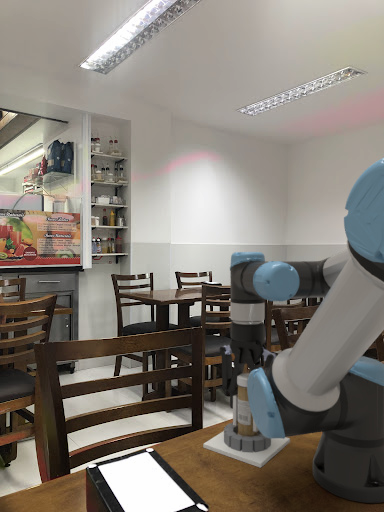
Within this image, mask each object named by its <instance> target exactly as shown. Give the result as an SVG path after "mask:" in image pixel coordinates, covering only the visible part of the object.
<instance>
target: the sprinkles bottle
mask: <svg viewBox="0 0 384 512" xmlns="http://www.w3.org/2000/svg"><path fill="white" fill-rule="evenodd" d="M249 374H250V372H246V373H245V372H243V374H240V375H238V376H237V384H238V433H237V434H238V435H241V436H246V437H253V436H258V433H257V432H255V431H253V416H252V413H251V410H250V405H249V400H248V392H247V382H248V377H249Z"/></svg>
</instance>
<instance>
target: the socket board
mask: <svg viewBox="0 0 384 512" xmlns="http://www.w3.org/2000/svg"><path fill="white" fill-rule="evenodd" d="M237 433H238V425H236V426H234V425H233V421H232V423H231V422H230V423H228V424H226V425H225V426H224V428H223V431H221V432H219V433H218V434H217V435H215V436H213V437H212V438H210V439H208V440H207V441H206V442H204V443H203V447H202V448H204V449H206V450H209V451H212V452H215V453H218V454H220V455H223V456H226V457H229V458H232V459H235V460H238V461H240V462H243V463H246V464H249V465H252V466H254V467H257V468H259V469H261V468H262V467H264V465H266V464H267V463H268V462H269V461H270V460H272V459H273V457H274V456H276V455H277V454H279V452H281V450H283V449H284V448H285V447H286V446H288V444H290V443H291V438H290V437H285V438H284V439H283V438H282V439H281V438H274V439H270V438H267V437H265V436H264V435H263V434H262V433H261V432H260V431H259V430H258V431H257V433H258V436H253V437H246V436H241V435H238V434H237Z"/></svg>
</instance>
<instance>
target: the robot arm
mask: <svg viewBox="0 0 384 512" xmlns="http://www.w3.org/2000/svg"><path fill="white" fill-rule="evenodd" d="M344 209H345V211H348V212H347V215H345V216H344V217H343V227H344V231H345V235H346V247H347V249H345V250H342V251H341V252H338V253H336V254H334V255H332V256H330V257H326V258H325V259H322V260H316V261H314V260H312V261H309V260H308V261H305V260H304V261H299V260H298V261H296V260H295V261H289V260H288V261H285V260H283V261H280V260H277V261H273V260H270V261H266V259H265V258H266V257H265V254H264V253H263V252H262V251H235V252H233V253H232V254H231V255H230V266H229V271H230V312H229V313H230V320H231V322H230V339H231V340H230V342H229V344H226V345H223V346H220V347H219V353H220V356H221V384H222V385H221V388H222V391H225V392H228V394H229V406H230V409H232V422H233V425H234V426H236V425H238V384H237V376H238V375H240V374H243V373H244V368H245V365H248V367H249V368H248V369H249V370H250V372H249V373H250V374H249V377H248V382H247V392H248V400H249V405H250V410H251V413H252V416H253V431H255V432H257V431H258V430H259V431H260V432H261V433H262V434H263V435H264V436H265V437H267V438H270V439H274V438H281V439H282V438H283V439H284V438H285V437H287V438H290V437H296V436H301V435H308V434H316V433H321V436H320V438H319V441H318V444H317V447H316V450H315V453H314V456H313V459H312V476H313V478H314V481H316V483H317V484H318V485H319V486H320V487H321V488H323V489H324V490H325V491H327V492H329V493H330V494H333V495H334V496H337V497H339V498H342V499H346V500H349V501H352V502H353V501H354V502H357V503H363V504H364V503H367V504H380V503H384V363H383V362H381V361H379V360H376V359H373V358H371V357H367V356H363V355H364V354H365V352H366V351H367V350H369V348H370V347H371V345H373V343H374V342H375V341H376V340H377V338H379V336H380V335H381V334H382V332H384V157H382V158H380V159H379V160H376V161H374V163H372V164H371V165H369V167H367V168H366V169H365V170H364V171H363V172H362V173H361V175H359V177H358V178H357V179H356V181H355V182H354V184H353V186H352V187H351V189H350V192H349V194H348V197H347V199H346V203H345V207H344ZM310 298H322V301H321V302H320V305H318V307H317V309H316V310H315V312H314V313H313V315H312V317H311V319H310V320H309V322H308V323H307V325H306V327H305V328H304V329H303V331H302V333H301V334H300V336H299V338H298V339H297V340H296V342H295V343H294V345H293V347H290V348H286V349H283V350H282V351H280V352H279V353H278V354H277V352H271V351H269V350H268V349H267V347H266V345H265V336H266V333H265V332H266V331H265V323H264V322H263V321H264V320H265V315H266V314H265V310H266V309H265V306H266V305H265V303H266V302H265V301H266V300H267V301H269V302H287V301H288V300H290V299H293V300H294V299H310ZM232 354H233V355H234V359H233V356H232ZM261 358H263V361H264V366H263V365H262V360H261ZM233 360H234V361H233ZM262 366H263V367H264V368H263V367H262Z"/></svg>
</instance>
